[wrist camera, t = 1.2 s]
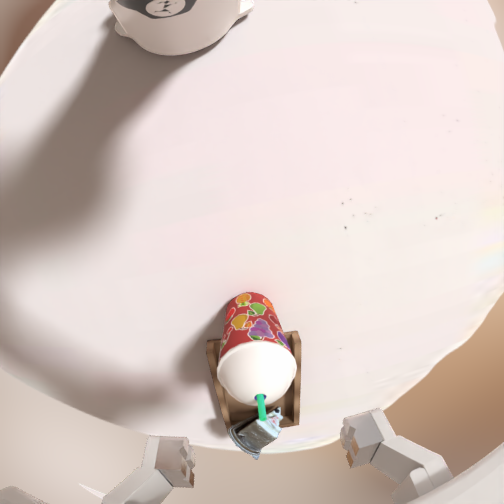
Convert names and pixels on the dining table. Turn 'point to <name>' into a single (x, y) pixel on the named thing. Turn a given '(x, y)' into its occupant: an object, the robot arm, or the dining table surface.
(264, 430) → the bell
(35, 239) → the dining table surface
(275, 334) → the smoothie
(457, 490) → the robot arm
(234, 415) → the cradle
